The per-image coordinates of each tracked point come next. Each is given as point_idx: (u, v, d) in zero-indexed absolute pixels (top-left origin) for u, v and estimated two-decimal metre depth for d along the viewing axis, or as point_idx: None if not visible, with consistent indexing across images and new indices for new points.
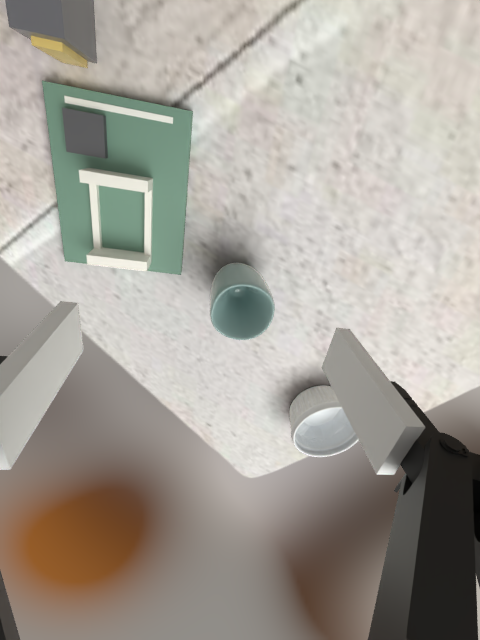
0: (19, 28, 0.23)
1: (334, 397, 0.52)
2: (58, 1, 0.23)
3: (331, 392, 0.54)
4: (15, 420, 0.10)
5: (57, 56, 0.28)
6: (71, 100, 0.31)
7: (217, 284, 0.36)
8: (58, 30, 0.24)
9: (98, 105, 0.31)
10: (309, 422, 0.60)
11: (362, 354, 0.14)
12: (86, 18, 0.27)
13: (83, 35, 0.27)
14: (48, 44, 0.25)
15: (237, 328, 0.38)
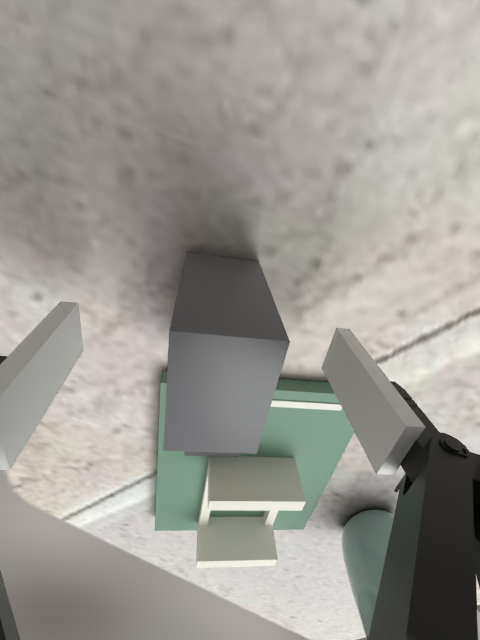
0: (180, 449, 0.13)
1: None
2: (261, 419, 0.12)
3: None
4: (15, 420, 0.10)
5: None
6: None
7: None
8: (249, 446, 0.13)
9: None
10: None
11: (362, 354, 0.14)
12: None
13: None
14: None
15: None
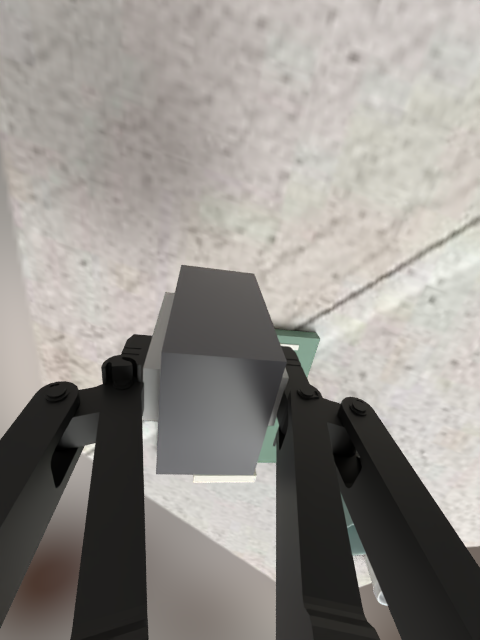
0: (173, 472, 0.12)
1: None
2: (258, 440, 0.12)
3: None
4: None
5: None
6: None
7: None
8: (245, 468, 0.12)
9: None
10: None
11: None
12: None
13: None
14: None
15: (351, 538, 0.35)
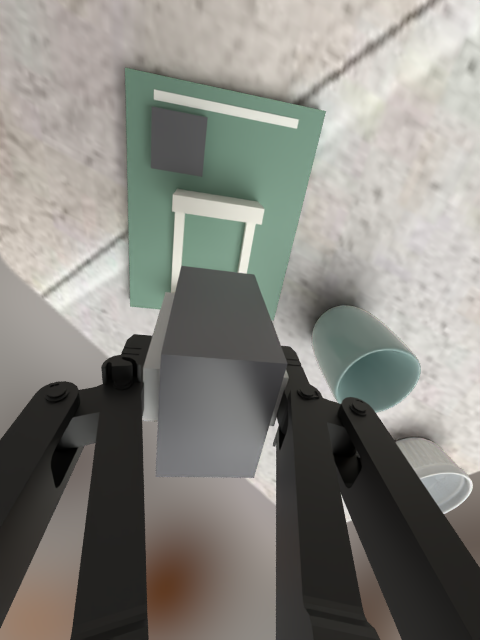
0: (173, 475, 0.12)
1: (436, 457, 0.43)
2: (258, 442, 0.11)
3: (430, 449, 0.45)
4: None
5: None
6: (163, 96, 0.22)
7: (340, 342, 0.27)
8: (246, 470, 0.12)
9: (199, 103, 0.22)
10: None
11: None
12: None
13: None
14: None
15: (359, 396, 0.29)
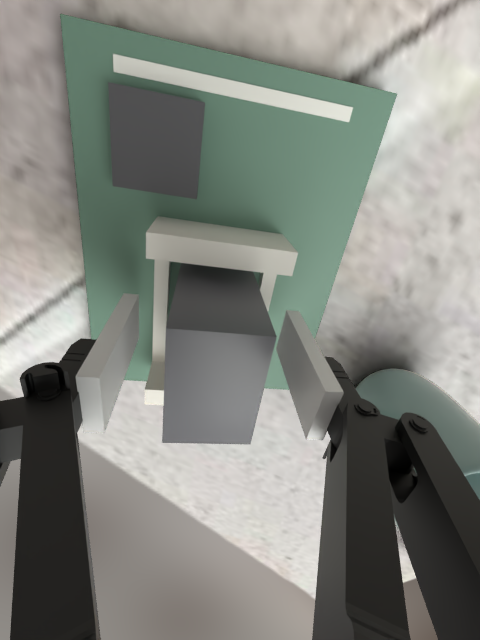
0: (178, 441, 0.13)
1: None
2: (253, 410, 0.13)
3: None
4: (108, 391, 0.11)
5: None
6: (129, 66, 0.13)
7: None
8: (243, 437, 0.14)
9: (191, 78, 0.13)
10: None
11: (304, 332, 0.15)
12: None
13: None
14: None
15: None
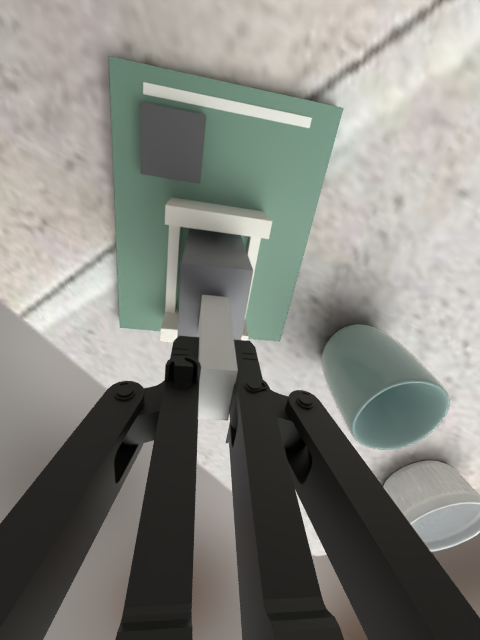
0: None
1: (454, 484, 0.40)
2: (239, 328, 0.19)
3: (447, 474, 0.41)
4: None
5: None
6: (154, 90, 0.19)
7: (357, 371, 0.24)
8: None
9: (196, 98, 0.19)
10: None
11: (223, 316, 0.15)
12: None
13: None
14: None
15: (377, 430, 0.26)
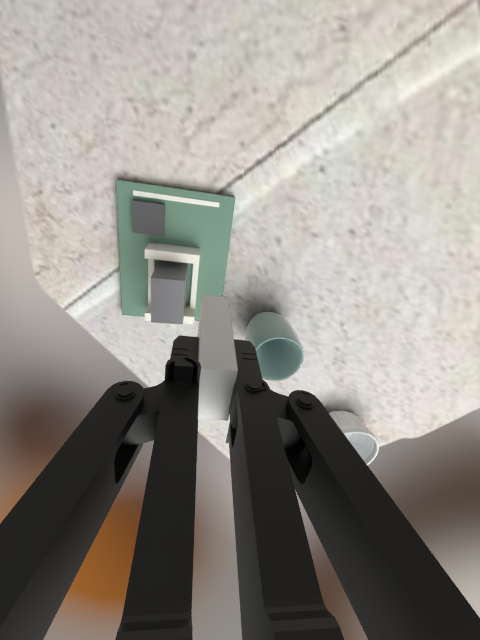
0: (156, 322, 0.38)
1: (350, 422, 0.59)
2: (181, 309, 0.38)
3: (347, 417, 0.60)
4: None
5: None
6: (138, 193, 0.38)
7: (254, 335, 0.43)
8: (179, 321, 0.39)
9: (159, 196, 0.38)
10: None
11: (223, 316, 0.15)
12: (186, 288, 0.42)
13: (185, 299, 0.42)
14: None
15: (271, 370, 0.45)
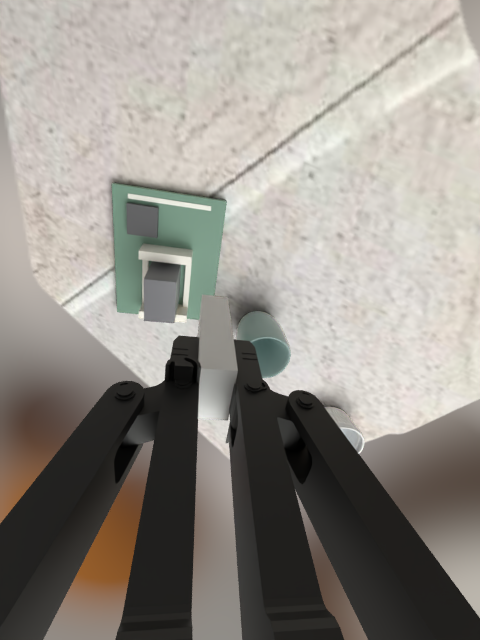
0: (149, 320, 0.40)
1: (338, 418, 0.61)
2: (173, 308, 0.40)
3: (335, 413, 0.62)
4: None
5: None
6: (133, 196, 0.40)
7: (244, 334, 0.45)
8: (171, 320, 0.40)
9: (153, 199, 0.40)
10: None
11: (223, 316, 0.15)
12: None
13: (177, 299, 0.44)
14: None
15: None
